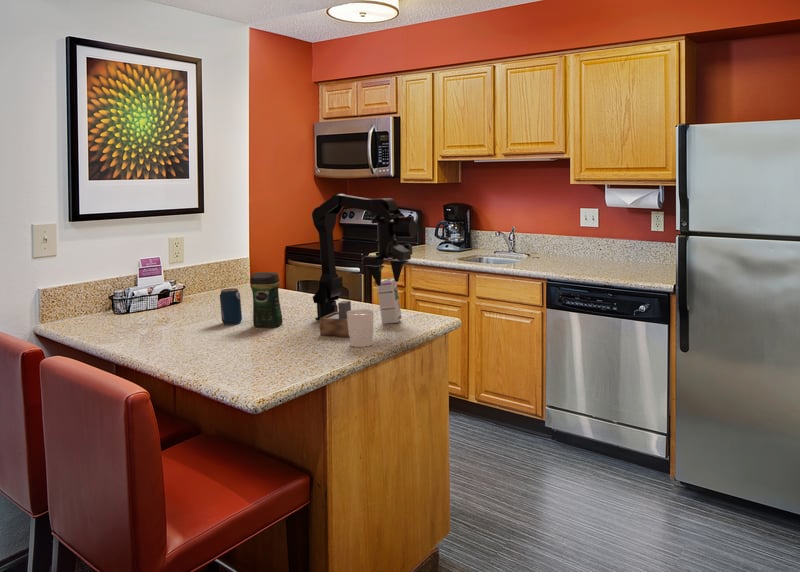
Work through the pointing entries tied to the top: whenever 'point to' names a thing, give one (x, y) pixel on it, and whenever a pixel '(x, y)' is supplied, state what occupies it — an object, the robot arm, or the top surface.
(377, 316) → the top surface
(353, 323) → the beige cup
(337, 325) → the walnut box
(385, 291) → the syrup box
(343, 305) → the cover plate
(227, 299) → the soda can
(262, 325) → the coffee jar
